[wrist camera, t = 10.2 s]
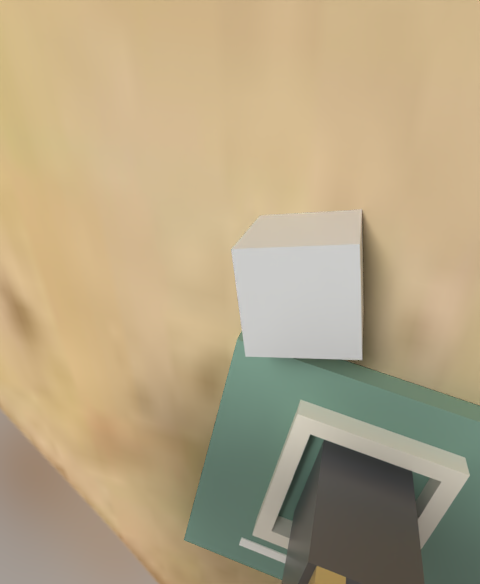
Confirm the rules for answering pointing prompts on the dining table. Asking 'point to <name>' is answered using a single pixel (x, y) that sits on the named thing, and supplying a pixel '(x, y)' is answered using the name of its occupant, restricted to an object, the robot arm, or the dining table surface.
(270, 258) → the plug
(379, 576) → the plug
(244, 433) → the board
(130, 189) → the dining table surface
